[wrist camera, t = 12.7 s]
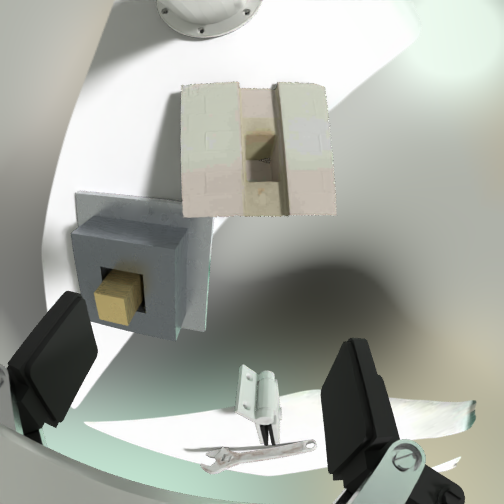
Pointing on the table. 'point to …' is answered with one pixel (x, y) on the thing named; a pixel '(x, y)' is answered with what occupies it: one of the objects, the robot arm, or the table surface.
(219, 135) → the beige piece
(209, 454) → the wrench
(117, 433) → the table surface
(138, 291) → the brass pin
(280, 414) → the hinge
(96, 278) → the collar block
